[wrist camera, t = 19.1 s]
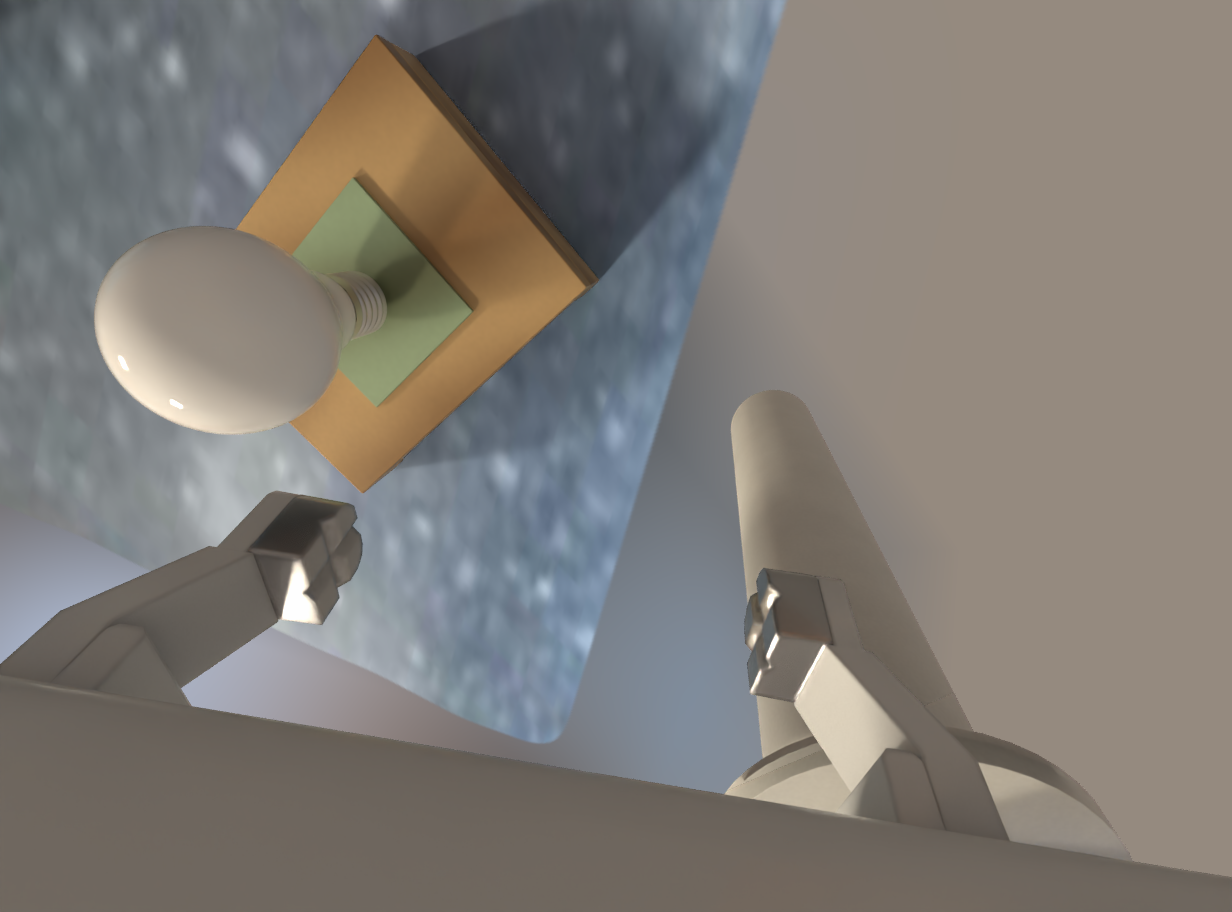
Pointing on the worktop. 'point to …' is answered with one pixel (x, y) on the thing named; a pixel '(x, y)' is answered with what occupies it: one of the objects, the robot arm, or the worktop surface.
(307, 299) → the lightbulb
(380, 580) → the worktop surface
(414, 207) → the shelf
